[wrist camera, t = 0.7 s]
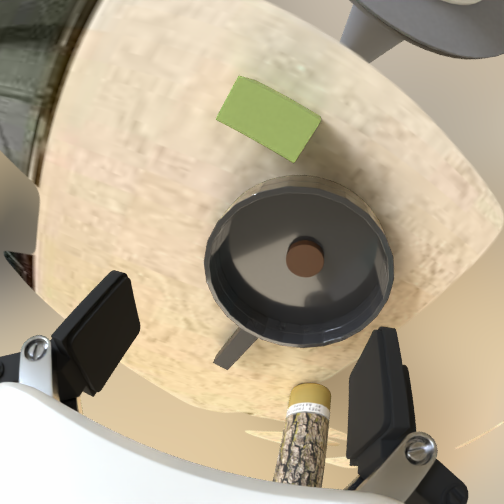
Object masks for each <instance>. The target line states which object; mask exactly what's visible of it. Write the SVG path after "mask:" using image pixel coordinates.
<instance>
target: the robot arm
mask: <svg viewBox="0 0 504 504" xmlns="http://www.w3.org/2000/svg"><path fill="white" fill-rule="evenodd" d="M442 1H445V2H448V3H452V4H457V5H471V4H475V3H477V2H479V1H481V0H442ZM139 331H140V322H139V318H138V313H137V309H136V304H135V300H134V295H133V290H132V285H131V280H130V279H129V278H128V276H127V274H126V273H122V272H119V271H115V270H113V271H111V272H110V273H109V274H108V275H107V276H106V277H105V278H104V279H103V280H102V281H101V282H100V283H99V284H98V285H97V286H96V287H95V288H94V289H93V290H92V291H91V292H90V293H89V294H88V296H87V297H86V298H85V299H84V300H83V301H82V302H81V303H80V304H79V305H78V306H77V307H76V308H75V309H74V311H73V312H72V313H71V314H70V315H69V316H68V317H67V318H66V319H65V321H64V322H63V323H62V324H61V325H60V326H59V327H58V329H56V331H55V332H54V333H53V334H52V335H51V337H52V339H51V340H49V339H48V338H47V337H45V336H42V335H36V336H33V337H31V338H30V339H28V340H27V341H26V342H25V343H24V344H23V346H22V349H21V352H19V353H15V354H11V355H6V356H2V357H0V504H466V503H467V500H468V490H467V487H466V486H465V484H464V483H463V482H462V481H461V480H460V479H458V478H457V477H456V476H455V475H454V474H453V473H452V472H451V471H449V470H448V469H447V468H446V467H445V466H444V465H443V464H442V463H441V462H440V461H438V460H437V459H436V457H437V451H438V450H437V445H436V443H435V441H434V439H433V438H432V437H431V436H430V435H428V434H426V433H424V432H416V423H415V413H414V405H413V397H412V390H411V384H410V378H409V371H408V368H407V366H406V365H402V359H401V353H400V348H399V342H398V337H397V332H396V329H395V328H388V327H379V329H378V330H374V331H373V332H372V334H371V336H370V338H369V340H368V342H367V344H366V346H365V348H364V350H363V352H362V354H361V356H360V358H359V360H358V361H357V363H356V365H355V367H354V369H353V371H352V372H351V375H350V378H349V410H348V434H347V451H346V457H347V459H350V466H358V474H359V475H358V476H357V477H356V478H355V479H354V480H353V481H352V482H351V483H350V484H349V485H348V486H347V487H346V488H345V489H343V490H339V489H328V488H316V487H307V486H299V485H292V484H285V483H278V482H272V481H266V480H261V479H256V478H251V477H245V476H241V475H237V474H233V473H229V472H225V471H221V470H217V469H213V468H210V467H206V466H203V465H200V464H196V463H193V462H190V461H187V460H184V459H181V458H178V457H175V456H172V455H169V454H167V453H164V452H161V451H159V450H156V449H154V448H151V447H149V446H146V445H144V444H141V443H139V442H136V441H134V440H132V439H130V438H128V437H125V436H123V435H121V434H119V433H117V432H115V431H112V430H111V429H109V428H106V427H105V426H102V425H101V424H98V423H97V422H95V421H93V420H91V419H89V418H87V417H86V416H84V415H83V411H82V405H81V399H80V395H81V393H82V392H85V393H87V394H89V395H91V396H93V397H94V395H95V394H96V392H100V391H101V390H102V388H103V387H104V385H105V383H106V382H107V380H108V379H109V377H110V376H111V374H112V373H113V371H114V370H115V368H116V367H117V365H118V363H119V362H120V360H121V359H122V357H123V356H124V354H125V353H126V351H127V350H128V348H129V347H130V345H131V344H132V342H133V341H134V340H135V338H136V337H137V335H138V334H139Z"/></svg>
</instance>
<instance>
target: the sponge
mask: <svg viewBox="0 0 504 504" xmlns="http://www.w3.org/2000/svg"><path fill="white" fill-rule="evenodd" d="M216 120H217V121H219V122H221V123H223V124H225V125H227V126H229V127H231V128H233V129H235V130H236V131H238V132H240V133H242V134H244V135H246V136H247V137H249V138H251V139H253V140H255V141H256V142H258V143H260V144H262V145H264V146H265V147H267V148H269V149H270V150H272V151H274V152H276V153H277V154H279V155H281V156H282V157H284V158H286V159H287V160H289V161H291V162H292V163H295V161H296V160H297V158H298V157H299V155H300V153H301V152H302V150H303V149H304V147H305V146H306V144H307V142H308V141H309V139H310V138H311V136H312V135H313V133H314V131H315V130H316V128H317V127H318V125H319V124H320V122H321V117H320V116H319V115H317V114H316V113H314V112H312V111H311V110H309V109H307V108H305V107H304V106H302V105H300V104H299V103H297V102H295V101H293V100H292V99H290V98H288V97H286V96H284V95H283V94H281V93H279V92H277V91H275V90H273V89H271V88H269V87H268V86H266V85H264V84H262V83H260V82H258V81H256V80H253V79H249V78H246V77H242V76H238V78H237V80H236V82H235V84H234V85H233V87H232V89H231V91H230V93H229V95H228V97H227V98H226V100H225V102H224V104H223V106H222V108H221V110H220V112H219V114H218V116H217V118H216Z"/></svg>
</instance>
